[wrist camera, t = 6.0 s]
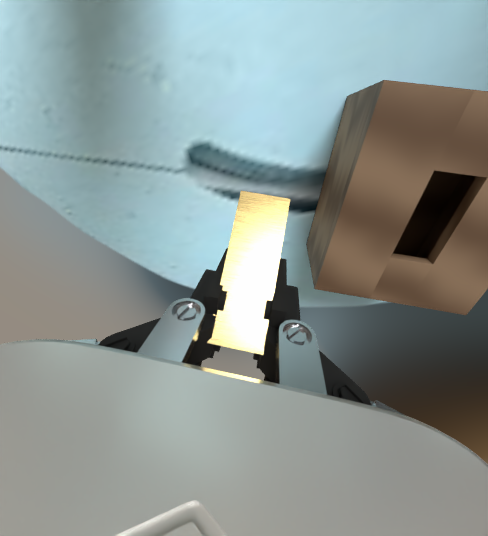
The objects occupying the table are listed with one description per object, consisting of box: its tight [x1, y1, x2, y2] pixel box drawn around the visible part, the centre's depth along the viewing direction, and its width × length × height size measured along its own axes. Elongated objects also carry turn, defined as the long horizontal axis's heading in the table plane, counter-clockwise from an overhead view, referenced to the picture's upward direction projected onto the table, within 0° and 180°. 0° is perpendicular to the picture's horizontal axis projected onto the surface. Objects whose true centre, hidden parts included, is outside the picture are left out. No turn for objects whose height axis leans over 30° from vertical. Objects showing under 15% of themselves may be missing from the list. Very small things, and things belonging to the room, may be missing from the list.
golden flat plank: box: [207, 191, 290, 355], centre depth 11 cm, size 5×2×6 cm
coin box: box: [306, 80, 488, 315], centre depth 22 cm, size 16×14×10 cm
